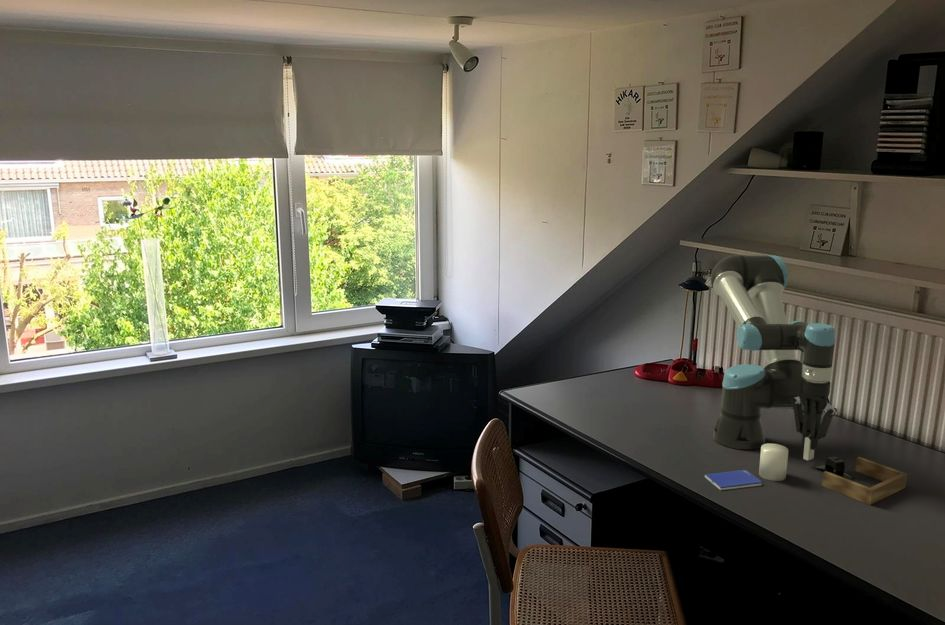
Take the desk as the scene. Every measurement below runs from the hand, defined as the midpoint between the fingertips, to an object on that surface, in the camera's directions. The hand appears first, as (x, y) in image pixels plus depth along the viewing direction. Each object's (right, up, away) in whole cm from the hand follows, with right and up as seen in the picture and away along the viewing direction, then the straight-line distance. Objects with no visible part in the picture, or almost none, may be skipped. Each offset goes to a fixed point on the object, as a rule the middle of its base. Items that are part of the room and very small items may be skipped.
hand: (808, 458), depth 214 cm
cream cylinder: (-12, -4, -5) cm, 14 cm away
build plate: (+5, -4, -4) cm, 8 cm away
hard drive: (-25, -5, -8) cm, 26 cm away
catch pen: (+9, -5, -12) cm, 16 cm away
